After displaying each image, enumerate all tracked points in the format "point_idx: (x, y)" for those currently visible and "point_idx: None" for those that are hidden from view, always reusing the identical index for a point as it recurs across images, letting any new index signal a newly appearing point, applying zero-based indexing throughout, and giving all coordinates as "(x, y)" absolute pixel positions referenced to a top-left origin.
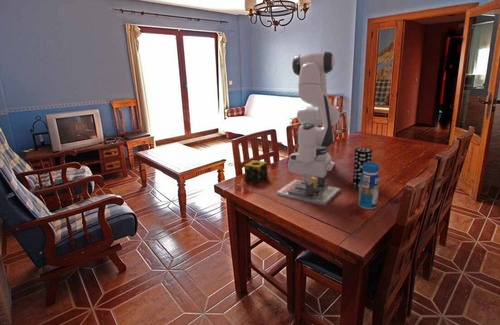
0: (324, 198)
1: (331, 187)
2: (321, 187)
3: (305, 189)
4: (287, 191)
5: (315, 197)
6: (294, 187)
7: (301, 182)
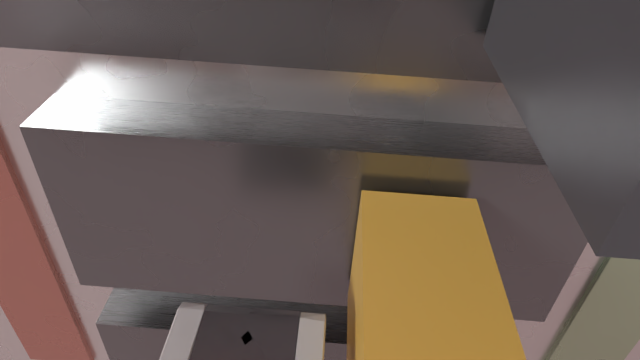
0: (635, 344)
1: None
2: None
3: (297, 294)
4: (80, 332)
5: None
6: (38, 188)
7: (4, 44)
